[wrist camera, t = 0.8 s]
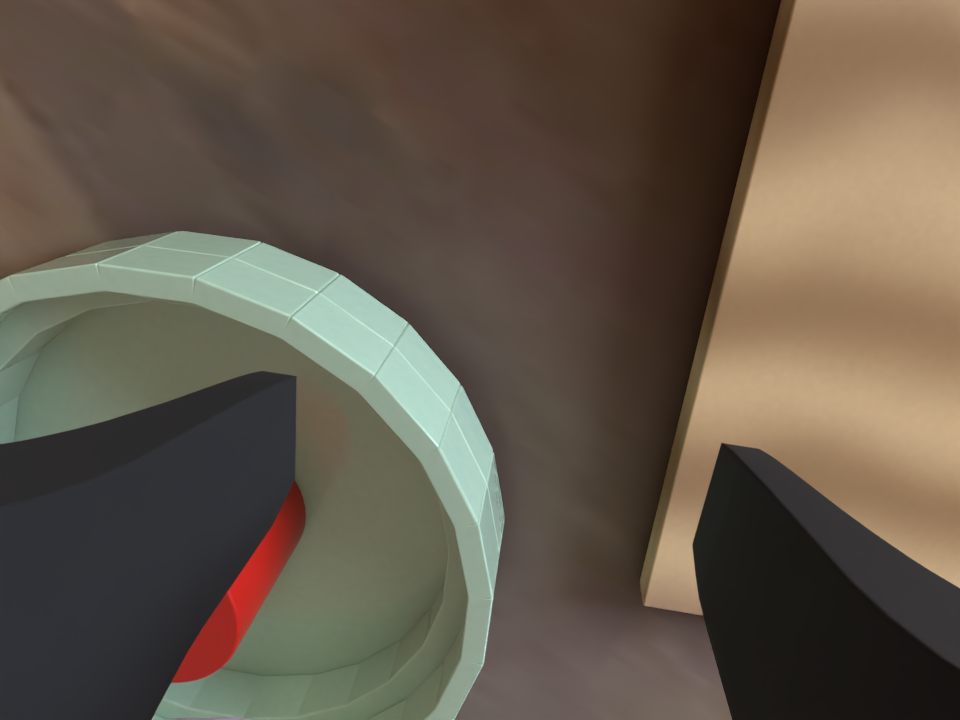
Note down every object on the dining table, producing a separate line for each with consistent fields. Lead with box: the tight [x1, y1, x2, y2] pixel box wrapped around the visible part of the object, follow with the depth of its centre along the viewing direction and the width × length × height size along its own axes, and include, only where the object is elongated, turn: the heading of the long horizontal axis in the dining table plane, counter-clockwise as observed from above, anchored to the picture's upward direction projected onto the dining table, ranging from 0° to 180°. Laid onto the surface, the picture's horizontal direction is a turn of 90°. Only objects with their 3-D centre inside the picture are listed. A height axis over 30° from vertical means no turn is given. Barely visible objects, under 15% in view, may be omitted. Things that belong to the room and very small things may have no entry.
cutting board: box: [640, 0, 960, 615], centre depth 19 cm, size 20×12×1 cm, turn 174°
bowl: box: [0, 231, 505, 720], centre depth 22 cm, size 18×18×4 cm
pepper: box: [171, 480, 306, 683], centre depth 20 cm, size 5×5×7 cm
